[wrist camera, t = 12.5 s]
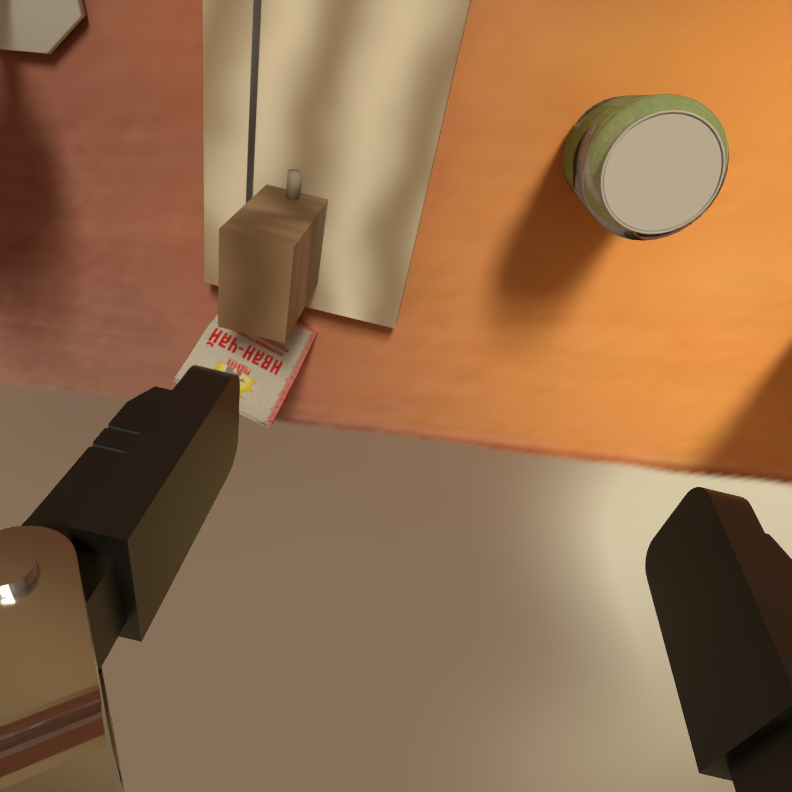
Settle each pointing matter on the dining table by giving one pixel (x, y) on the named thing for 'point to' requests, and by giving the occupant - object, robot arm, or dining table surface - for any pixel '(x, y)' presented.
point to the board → (330, 128)
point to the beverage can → (646, 163)
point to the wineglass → (38, 23)
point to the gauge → (270, 260)
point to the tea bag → (254, 365)
